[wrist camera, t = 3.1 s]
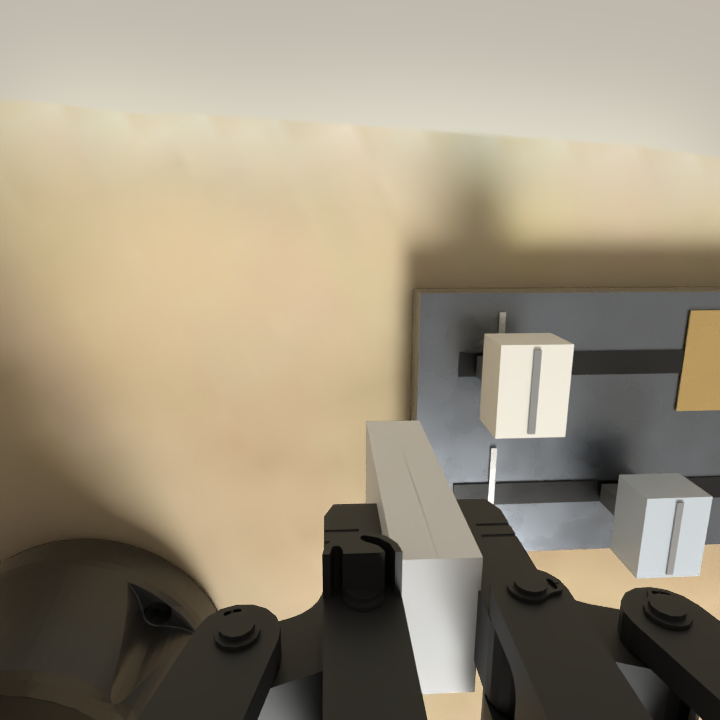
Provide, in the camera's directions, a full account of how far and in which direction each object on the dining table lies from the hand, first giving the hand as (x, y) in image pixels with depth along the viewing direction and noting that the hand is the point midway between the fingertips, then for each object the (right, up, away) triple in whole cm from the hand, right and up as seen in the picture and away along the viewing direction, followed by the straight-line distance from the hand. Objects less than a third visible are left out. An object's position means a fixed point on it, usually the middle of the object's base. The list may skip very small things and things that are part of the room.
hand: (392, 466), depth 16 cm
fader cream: (+6, +3, +11) cm, 13 cm away
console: (+13, 0, +15) cm, 20 cm away
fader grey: (+13, -4, +13) cm, 19 cm away
